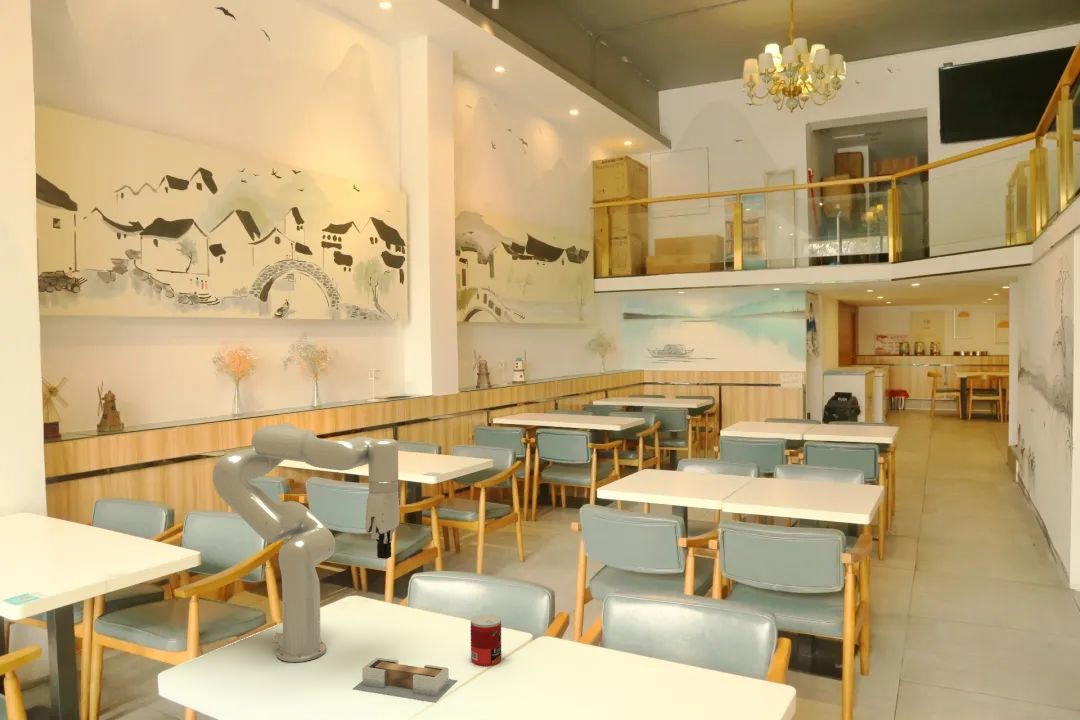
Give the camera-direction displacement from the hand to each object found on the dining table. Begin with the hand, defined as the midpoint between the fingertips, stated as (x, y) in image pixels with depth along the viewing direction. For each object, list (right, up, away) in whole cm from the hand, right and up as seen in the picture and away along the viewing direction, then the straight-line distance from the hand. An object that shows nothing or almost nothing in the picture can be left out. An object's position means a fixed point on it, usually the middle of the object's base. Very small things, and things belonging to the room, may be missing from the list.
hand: (384, 557), depth 192 cm
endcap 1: (+2, -27, -12) cm, 29 cm away
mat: (+8, -27, -14) cm, 32 cm away
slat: (+9, -27, -14) cm, 32 cm away
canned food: (+26, -27, 0) cm, 38 cm away
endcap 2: (+14, -27, -16) cm, 34 cm away
